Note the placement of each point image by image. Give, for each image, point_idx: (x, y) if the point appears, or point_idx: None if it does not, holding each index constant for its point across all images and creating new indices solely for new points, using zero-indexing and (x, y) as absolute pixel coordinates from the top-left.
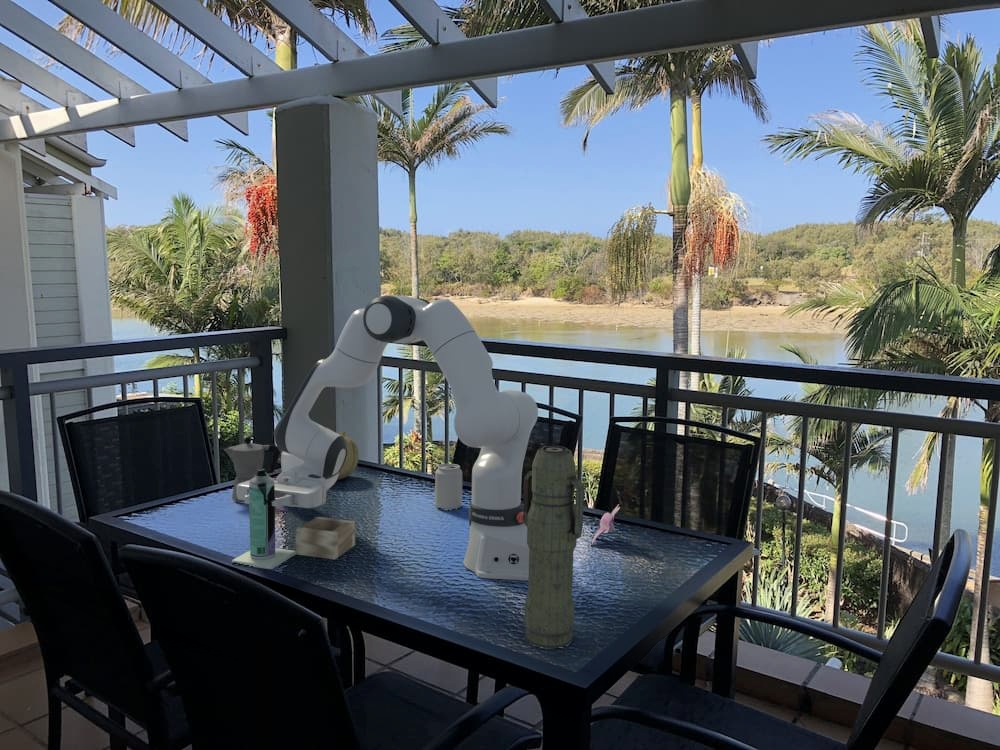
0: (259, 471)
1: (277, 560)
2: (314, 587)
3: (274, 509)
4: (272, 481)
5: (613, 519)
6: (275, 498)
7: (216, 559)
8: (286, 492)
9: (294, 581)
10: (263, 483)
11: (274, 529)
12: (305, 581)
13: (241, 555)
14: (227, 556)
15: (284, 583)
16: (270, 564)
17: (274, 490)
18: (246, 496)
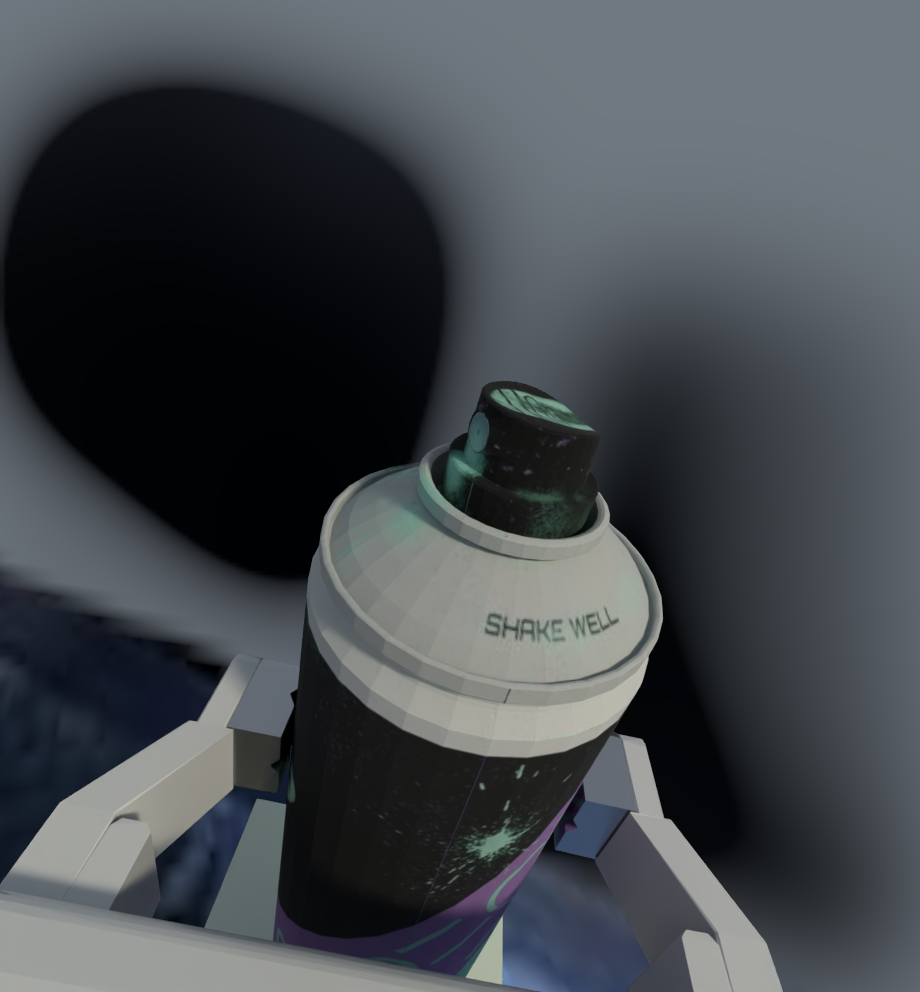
0: (532, 397)
1: (234, 897)
2: (18, 634)
3: (287, 807)
4: (324, 518)
5: None
6: (274, 704)
7: (616, 913)
8: (112, 914)
9: (116, 683)
10: (404, 467)
11: (277, 894)
12: (56, 686)
13: (497, 948)
14: (597, 988)
15: (165, 661)
16: (266, 818)
17: (302, 676)
18: (627, 738)
